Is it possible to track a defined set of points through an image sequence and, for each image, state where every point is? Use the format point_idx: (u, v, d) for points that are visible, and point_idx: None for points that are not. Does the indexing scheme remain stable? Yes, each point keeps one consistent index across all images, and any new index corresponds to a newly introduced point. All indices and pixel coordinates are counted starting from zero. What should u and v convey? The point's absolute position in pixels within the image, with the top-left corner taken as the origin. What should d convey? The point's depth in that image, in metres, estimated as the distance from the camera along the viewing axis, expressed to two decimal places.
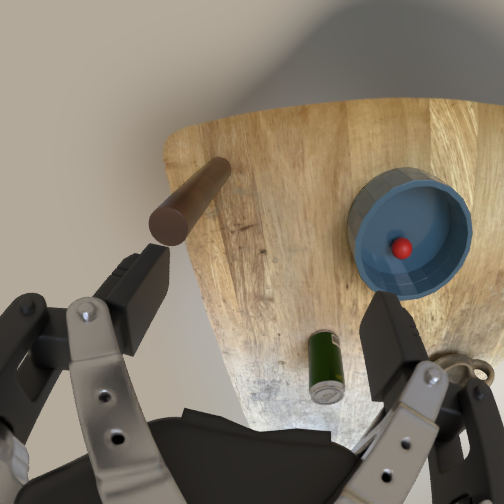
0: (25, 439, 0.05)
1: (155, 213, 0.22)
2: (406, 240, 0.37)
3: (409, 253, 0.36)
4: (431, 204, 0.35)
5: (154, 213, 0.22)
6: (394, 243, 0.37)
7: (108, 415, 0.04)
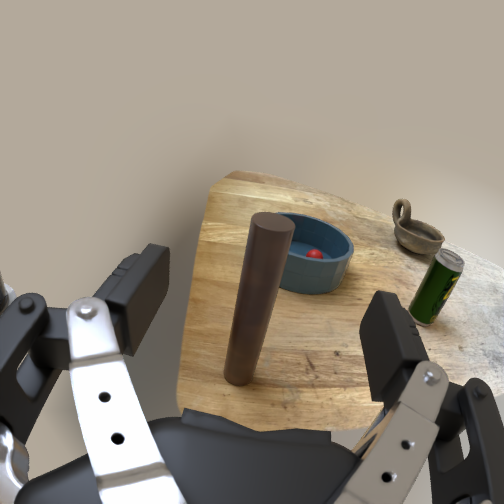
0: (25, 439, 0.05)
1: (257, 222, 0.21)
2: None
3: None
4: None
5: (257, 223, 0.21)
6: None
7: (108, 415, 0.04)
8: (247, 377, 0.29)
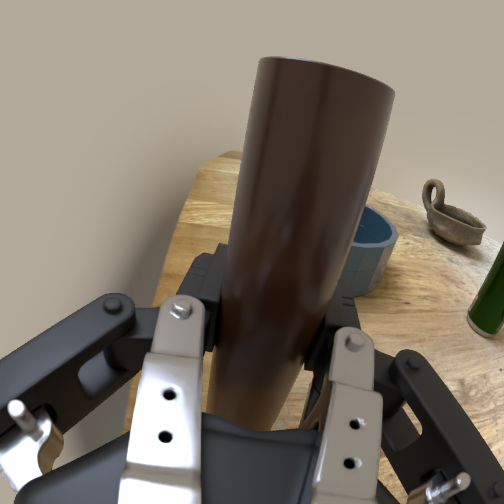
0: (67, 428, 0.06)
1: None
2: None
3: None
4: None
5: (280, 57, 0.05)
6: None
7: (166, 412, 0.05)
8: None
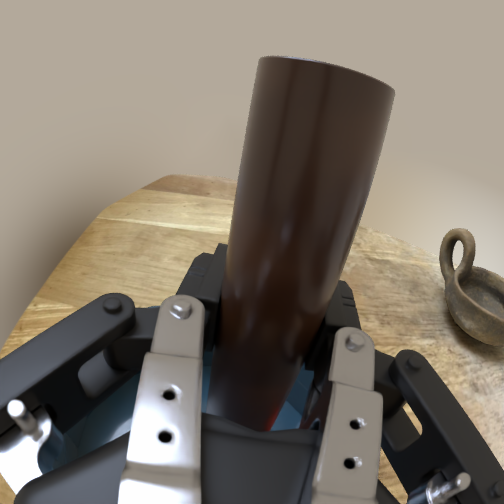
0: (67, 428, 0.06)
1: None
2: None
3: None
4: None
5: None
6: None
7: (165, 412, 0.05)
8: None
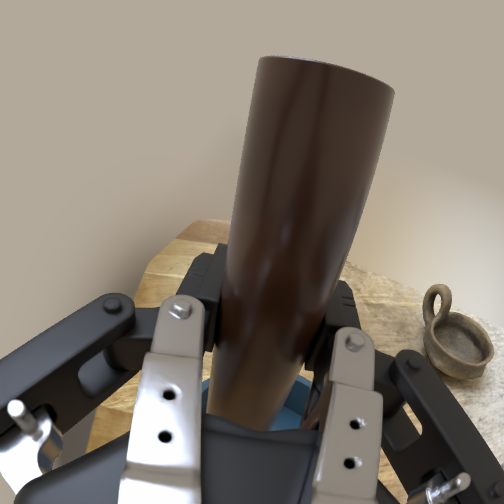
0: (67, 428, 0.06)
1: None
2: None
3: None
4: None
5: None
6: None
7: (165, 413, 0.05)
8: None
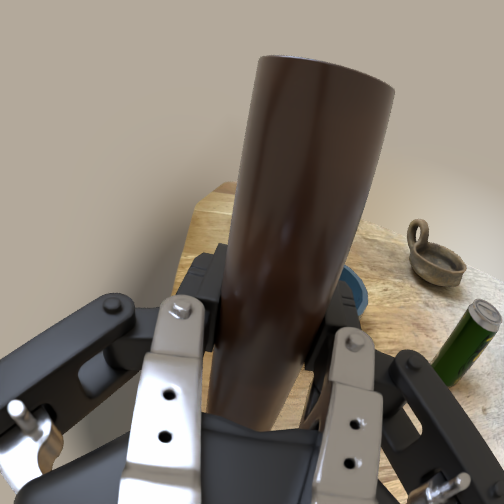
0: (67, 428, 0.06)
1: None
2: None
3: None
4: None
5: None
6: None
7: (165, 413, 0.05)
8: None
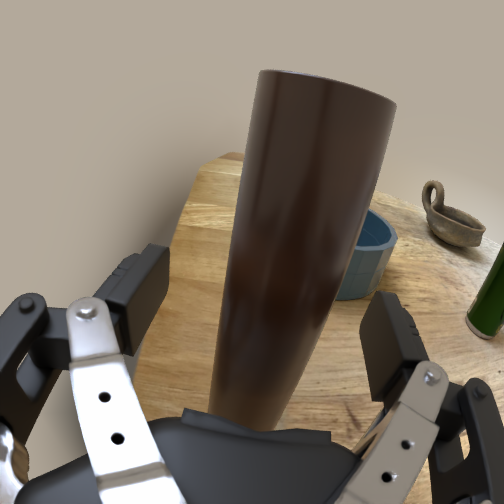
0: (25, 439, 0.05)
1: None
2: None
3: None
4: None
5: None
6: None
7: (108, 415, 0.04)
8: None
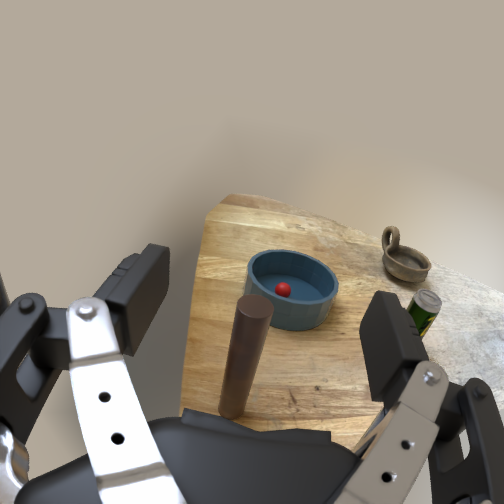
0: (25, 439, 0.05)
1: (241, 309, 0.25)
2: None
3: None
4: (268, 282, 0.59)
5: (241, 309, 0.25)
6: (286, 297, 0.55)
7: (108, 415, 0.04)
8: (237, 414, 0.33)
